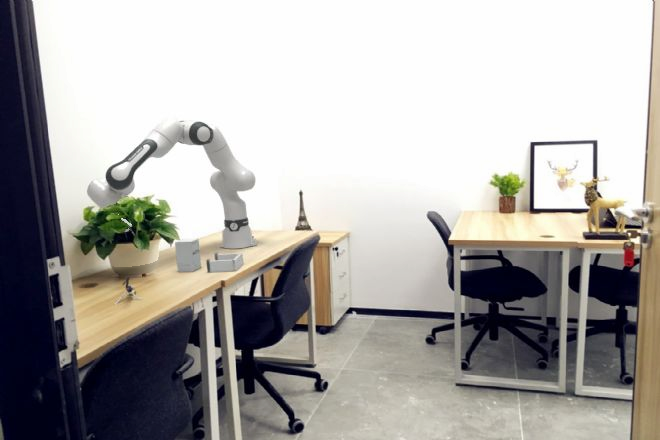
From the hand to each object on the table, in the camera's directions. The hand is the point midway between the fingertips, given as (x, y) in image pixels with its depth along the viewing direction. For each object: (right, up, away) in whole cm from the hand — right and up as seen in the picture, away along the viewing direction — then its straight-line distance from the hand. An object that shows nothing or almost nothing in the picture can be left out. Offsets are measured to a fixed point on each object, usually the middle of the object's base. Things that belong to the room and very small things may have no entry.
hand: (146, 233), depth 206 cm
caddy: (+32, -14, +1) cm, 36 cm away
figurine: (+9, -22, -37) cm, 44 cm away
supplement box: (+17, -16, +2) cm, 23 cm away
